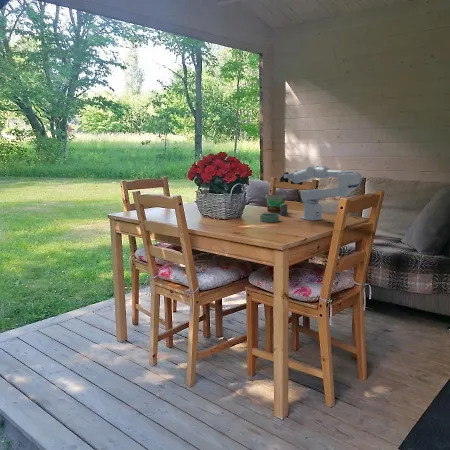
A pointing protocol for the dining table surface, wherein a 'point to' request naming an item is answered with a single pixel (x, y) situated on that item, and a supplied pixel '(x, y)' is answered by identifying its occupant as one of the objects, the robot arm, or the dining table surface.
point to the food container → (274, 202)
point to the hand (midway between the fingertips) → (285, 181)
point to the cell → (283, 209)
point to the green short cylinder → (269, 217)
